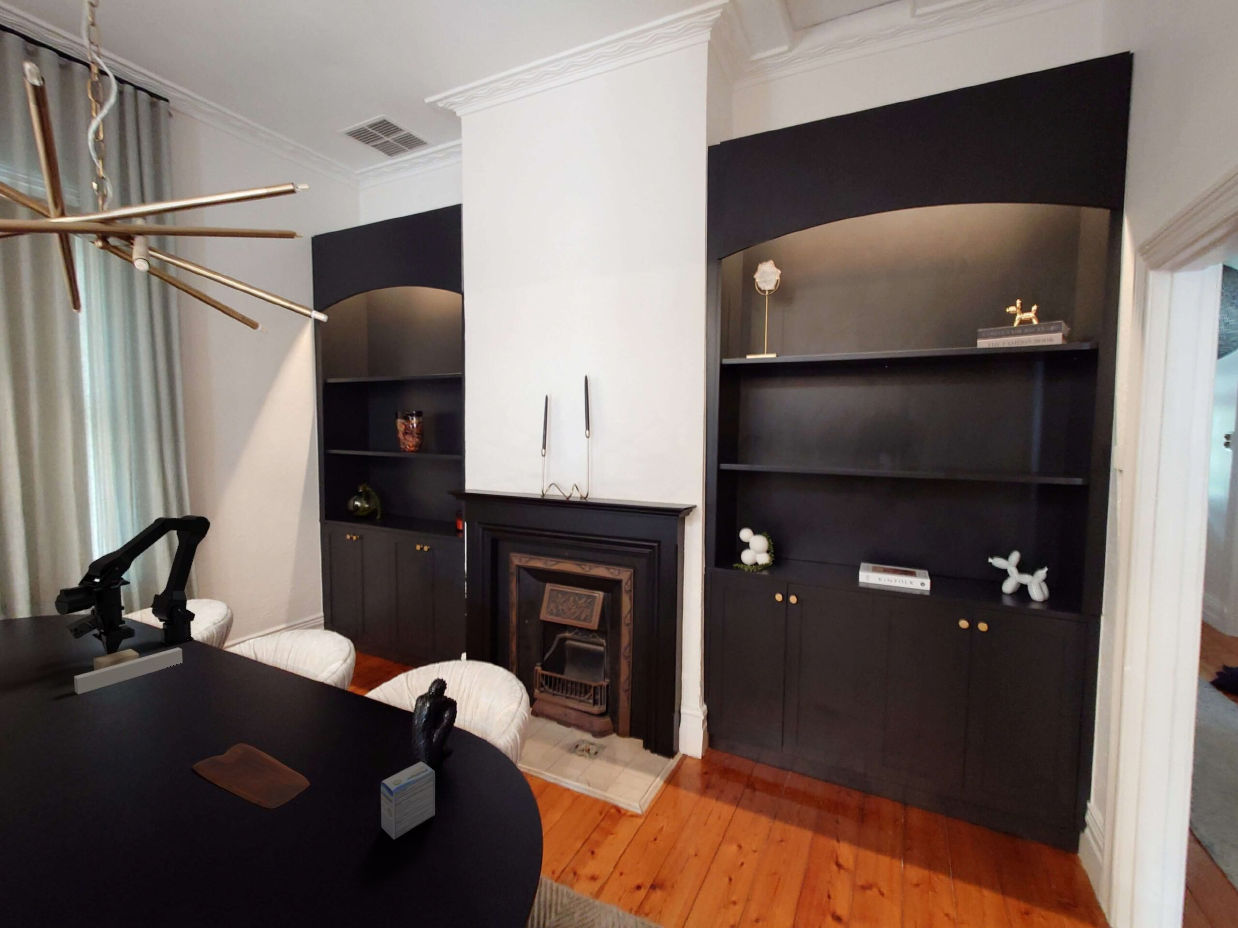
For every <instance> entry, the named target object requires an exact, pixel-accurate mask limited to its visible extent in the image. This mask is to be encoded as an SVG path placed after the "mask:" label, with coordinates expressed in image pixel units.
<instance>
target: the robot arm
mask: <svg viewBox="0 0 1238 928" xmlns="http://www.w3.org/2000/svg"><path fill="white" fill-rule="evenodd" d="M210 528H211V522H210V520H209V519H208V518H207V517H206V516H204V515H203V516H202V515H192V514H186V515H183V516H182V517H164V516H160V517H157V518H156V519H154V521H153V522H151V524H149V525H148V526H147V527H145V528H144V529H143V530H142V531H140V532H139V533H138V534H136V535H135V536H134V537H132V538H130V540H128V542H127V541H126V543H125V544H124V545H121V547H119V548H118V549H116V550H113V551H111V552H108V553H105V554H104V555H102V556H100V557H99V558H97V559H95V560H93V561H91V563H90V564H89V566H88V569H87V572H86V573H85V574H84V576H83V577H82V578H81V580H80V581H79V582H78V583H77V586H74V587H66V588H61V589H60V590H59V594H57V596H56V599H55V601H54V607H55V610H56V612H57V613H58V615H61V616H66V615H70V614H74V613H79V612H83V611H86V610H87V611H88V610H90V609H91V610H90V614H89V615H86V616H84V617H81V618H79V619H77V620H75V621H73V622H71V623H69V624H67V625H66V626H65V629H66V630H67V632H68V634H69V635H70V637H71V638H74V639H75V640H78V639H80V638H82V637H84V636H85V635H87V634H89V633H91V632H92V631H94V632H95V633H92V634H91V636H92V637H94V638H95V639H97V640H98V641H100V643H101V645H102V648H103V650H104V652H105V655H109V654H112V653H116V652H118V650H119V648H120V646H121V644H122V643H123V641H124V640H127V639H131V638H135V637H136V630H135V629H134V628H133V627H131V626H129V625H127V624H126V620H125V619H123V611H125V605H123V603H122V587H124V586H129V585H130V584H131V581H129V580H126V579H125V578H124V577H123V576H124V575H125V574H126V572H128V571H129V570H130V568H131V566H132V564H133V562H134V561H135V560H136V559H137V558H138V557H139V556H140V555H142V554H143V553H145V551H147V550H148V549H149V548H150V547H152V546H153V545H154V544H155V543H157V542H158V541H159V540H161V539H162V538H163V537H164V536H165V535H167V534H168V533H169V532H171V531H176V537H177V540H178V545H177V548H176V552H175V555H174V558H173V561H172V565H171V567H170V572H169V575H168V577H167V581H166V585H165V588H164V590H162V592H161V593H160V594H158V593H155V594H154V595H153V599H152V603H151V605H150V606H149V608H151V614H152V615H153V616H154V617H155V618H157V620H158V622H160V623H162V628H161V629H160V643H162V644H163V645H167V646H168V647H170V646H174V645H178V644H182V643H186V642H189V640H190V641H193V640H194V638H195V637H193V636H192V624H191V623H192V622H194V621H195V618H196V613H194V611H193V612H192V611H191V610H190V609H187V605H188V598H187V595H186V591H185V590H186V587H187V583H188V580H189V576H190V573H191V570H192V567H193V564H194V563H193V562H194V559H195V556H196V552H197V548H198V546H199V544H200V543H201V542H202V541H203V540H204V539H205V538H206V536H207V534H208V532H209V530H210ZM97 580H98V581H97ZM187 639H189V640H187ZM185 641H186V642H185Z"/></svg>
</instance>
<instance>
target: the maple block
mask: <svg viewBox="0 0 1238 928" xmlns="http://www.w3.org/2000/svg"><path fill="white" fill-rule="evenodd" d="M139 658H140V655H139V653H138V652H137V651H135V650H133V649H131V648H128V649H124V650H121V651H117V652H116V653H112V654H109V655H106V654H105V655H102V656H101V655H100V656H98V657H93V671H96V670H99V669H103V668H106V667H110V666H114V665H117V664H121V663H124V662H128V661H132V660H135V659H139Z"/></svg>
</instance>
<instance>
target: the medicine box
mask: <svg viewBox="0 0 1238 928" xmlns="http://www.w3.org/2000/svg"><path fill="white" fill-rule="evenodd" d="M435 777H436V773H435V770H434V769H432V768H431V767H430V766H429V765H427V764H426V763H424V762H423V761H419V762H416V763H415V764H413V765H411V766H409V767H407V768H404V769H403V770H401V771H399V772H397V773H395V774H394V775H391V776H390V777H387V778H386V779H383V780H382V781H380V804H381V805H380V806H381V807H380V810H381V812H380V813H381V814H380V815H381V817H380V819H381V828H382V829H383V831H385V833H387V835H388V836H389V837H390V838H391V839H392V840H396V839H398V838H399V837H401V836H402V835H405V833H407V832H409V831H410V830H412V829H414V828H415V827H417V826H419V825H420V824H422V823H424V822H425V821H427V820H429V819H430V818H432V817H434V816H436V813H435V812H436V807H435V806H436V805H435V803H436V802H435V801H436V800H435V799H436V796H435V795H436V787H435V786H436V778H435Z"/></svg>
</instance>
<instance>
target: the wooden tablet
mask: <svg viewBox="0 0 1238 928" xmlns="http://www.w3.org/2000/svg"><path fill="white" fill-rule="evenodd" d="M192 769H193V770H194V771H195V772H196V773H197V774H198V775H200V776H201V777H203V779H205V780H207V781H209V782H210V783H213V784H215V785H217V786H218V787H220V788H222V789H225V790H226V791H229V792H230V793H232V794H235V796H239V797H240V798H243V799H244V800H246V801H249V802H251V803H253V804H256V805H258V806H260V807H263V808H267V809H276V808H279V807H280V806H282V805H284V804H286V803H288V802H289V801H290V800H292V799H294V798H295V797H297V795H298V794H300V793H302V792H304V791H305V790H306V789H307V788H308V787H309V786H310V785H311V784H310V781H309V780H308V779H307V777H305V776H304V775H302V774H301V773H299V772H297V771H296V770H293V769H291V768H290V767H289V766H286V765H285V764H284V763H282V762H280V761H279V760H277V759H276V758H274V757H272V756H271V755H269V754H267V753H265V752H264V751H261V750H260V749H257V748H255V747H254V746H252V745H249V744H247V743H242V742H241V743H237V744H235V745H233V746H232V747H230V748H228V749H227V751H225V753H224V754H223V755H215V756H210V757H208V758H206V759H203V760H200V761H199V762H197V763H195V764H193V766H192Z"/></svg>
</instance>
